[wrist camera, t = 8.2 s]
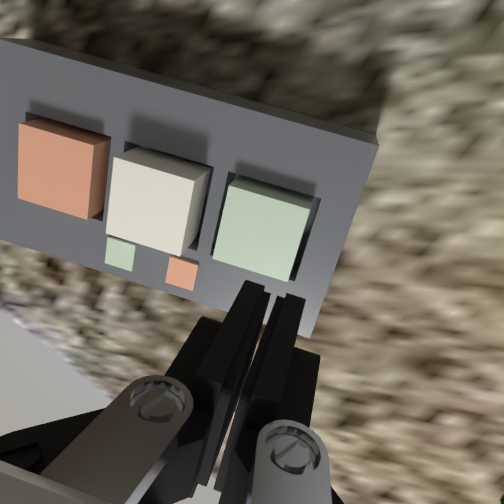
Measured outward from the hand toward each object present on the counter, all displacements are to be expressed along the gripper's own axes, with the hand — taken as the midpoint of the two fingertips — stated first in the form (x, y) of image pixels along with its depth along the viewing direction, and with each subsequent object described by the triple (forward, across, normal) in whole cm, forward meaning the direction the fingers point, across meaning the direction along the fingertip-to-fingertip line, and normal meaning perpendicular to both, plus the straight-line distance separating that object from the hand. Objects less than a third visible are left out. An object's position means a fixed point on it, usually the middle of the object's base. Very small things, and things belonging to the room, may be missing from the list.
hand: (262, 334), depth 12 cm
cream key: (+14, +8, +3) cm, 17 cm away
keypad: (+17, +8, +3) cm, 19 cm away
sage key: (+15, +2, +3) cm, 16 cm away
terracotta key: (+15, +14, +3) cm, 21 cm away
